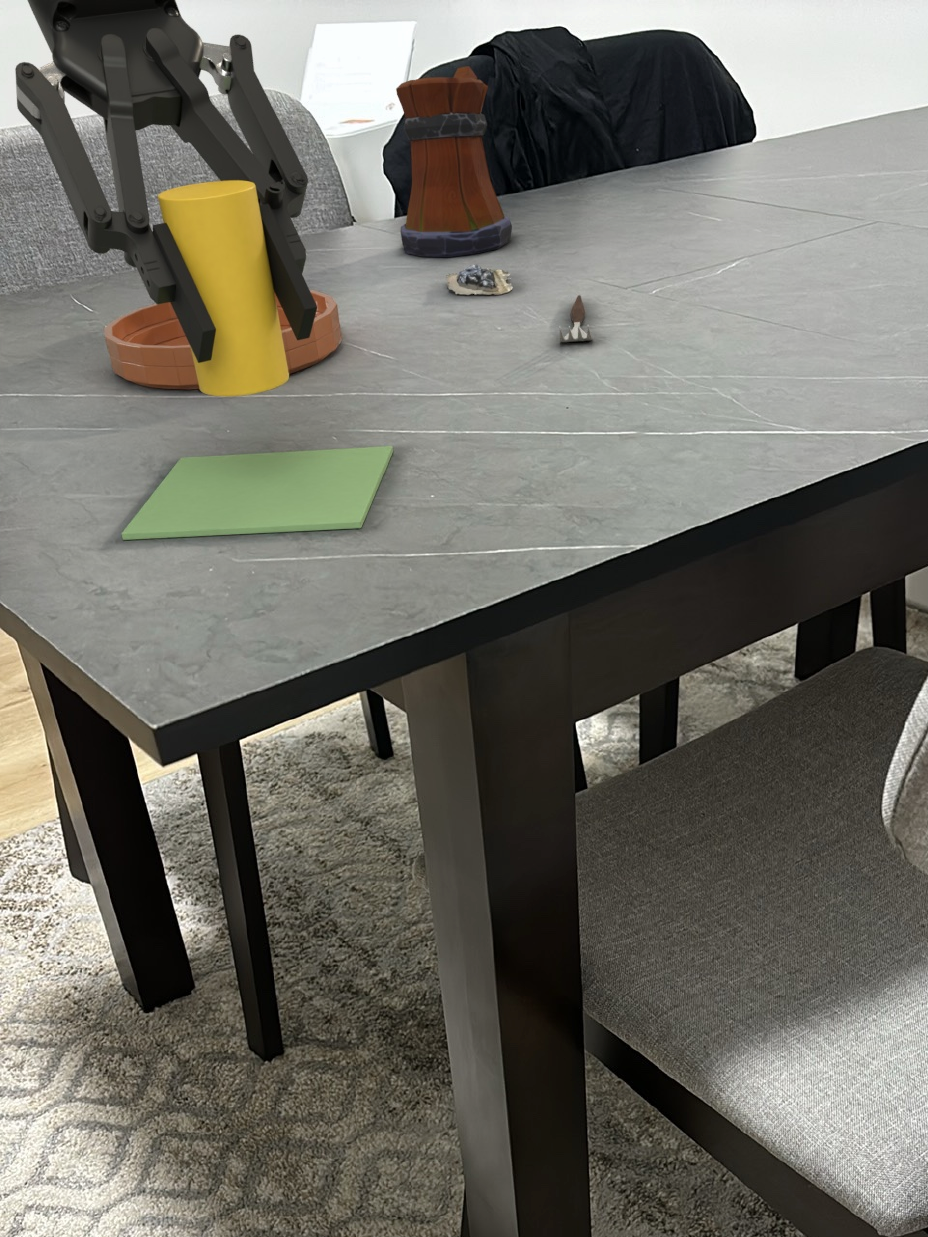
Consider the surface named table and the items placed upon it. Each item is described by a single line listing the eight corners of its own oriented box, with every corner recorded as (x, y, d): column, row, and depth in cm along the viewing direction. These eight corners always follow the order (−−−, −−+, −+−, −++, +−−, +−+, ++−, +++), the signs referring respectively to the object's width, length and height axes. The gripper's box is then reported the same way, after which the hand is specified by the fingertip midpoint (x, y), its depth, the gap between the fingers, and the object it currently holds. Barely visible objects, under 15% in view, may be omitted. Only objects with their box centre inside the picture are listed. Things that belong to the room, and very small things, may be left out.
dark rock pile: (496, 273, 125) (494, 250, 124) (537, 287, 119) (536, 263, 118) (431, 286, 123) (428, 263, 121) (470, 301, 117) (468, 277, 116)
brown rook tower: (427, 224, 147) (410, 62, 137) (531, 218, 145) (520, 53, 135) (389, 261, 133) (367, 83, 123) (503, 255, 131) (489, 74, 121)
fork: (595, 301, 114) (594, 275, 112) (592, 352, 101) (591, 324, 100) (564, 303, 114) (563, 277, 113) (558, 354, 101) (556, 326, 100)
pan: (84, 398, 101) (72, 354, 99) (151, 335, 116) (142, 295, 114) (319, 384, 100) (312, 338, 98) (358, 321, 114) (352, 281, 112)
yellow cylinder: (189, 399, 76) (145, 202, 70) (212, 372, 80) (172, 184, 74) (279, 393, 75) (242, 194, 69) (297, 367, 79) (264, 177, 73)
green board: (122, 540, 77) (120, 533, 77) (182, 463, 87) (180, 457, 87) (361, 528, 76) (360, 521, 76) (393, 451, 86) (392, 445, 86)
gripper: (232, 7, 81) (391, 342, 80) (-73, 45, 75) (94, 412, 73) (247, -107, 74) (421, 257, 73) (-88, -77, 68) (97, 325, 66)
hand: (257, 334), depth 73 cm, fingers closed on yellow cylinder, 5 cm apart
